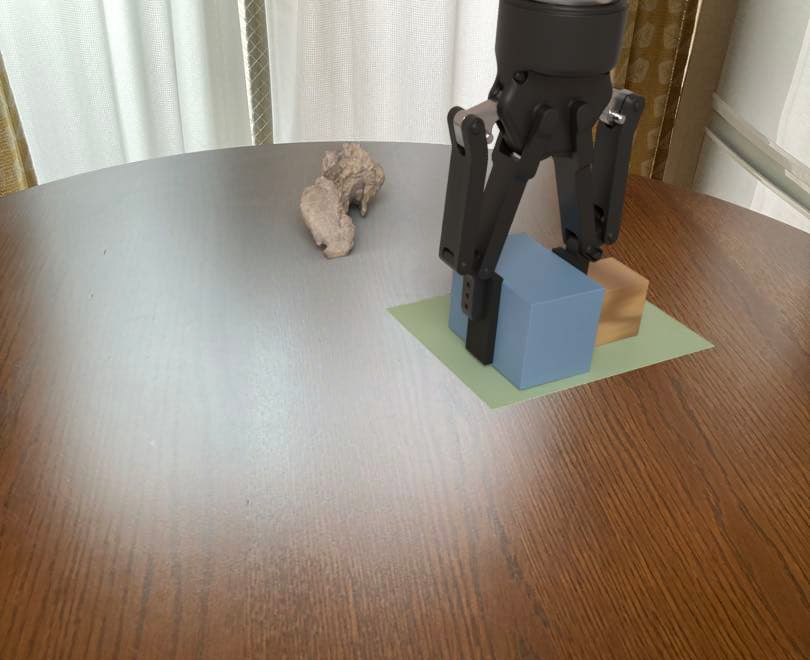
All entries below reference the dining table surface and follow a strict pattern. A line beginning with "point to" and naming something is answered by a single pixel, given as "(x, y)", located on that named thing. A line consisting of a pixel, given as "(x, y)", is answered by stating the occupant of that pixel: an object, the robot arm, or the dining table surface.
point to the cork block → (618, 300)
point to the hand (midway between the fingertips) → (517, 345)
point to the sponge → (538, 314)
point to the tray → (650, 346)
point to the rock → (340, 196)
